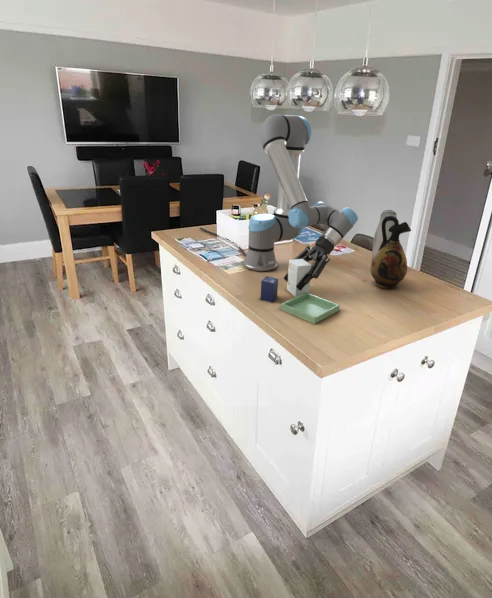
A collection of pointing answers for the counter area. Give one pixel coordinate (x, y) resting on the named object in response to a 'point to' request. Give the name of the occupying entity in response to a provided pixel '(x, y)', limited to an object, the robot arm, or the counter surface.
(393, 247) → the ceramic jug
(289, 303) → the tray
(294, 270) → the small box
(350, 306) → the counter surface
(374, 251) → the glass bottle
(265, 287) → the navy block
